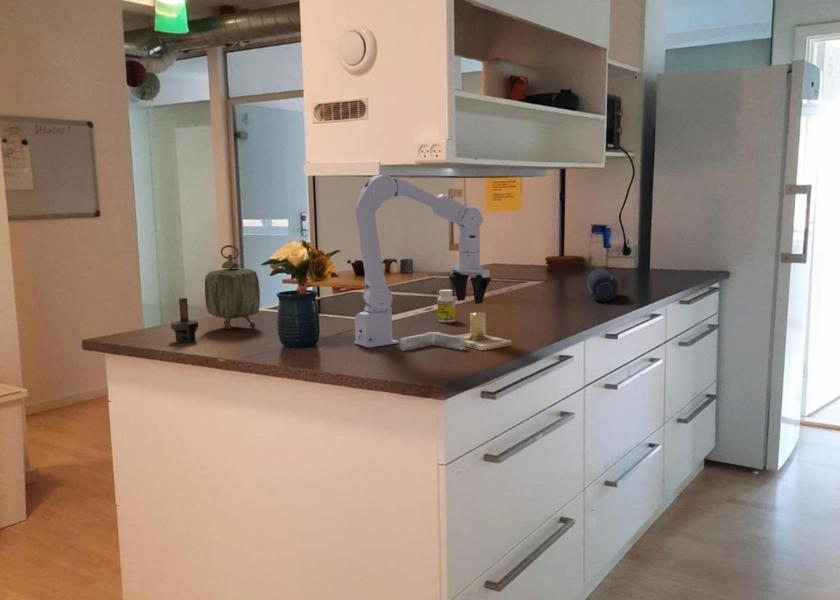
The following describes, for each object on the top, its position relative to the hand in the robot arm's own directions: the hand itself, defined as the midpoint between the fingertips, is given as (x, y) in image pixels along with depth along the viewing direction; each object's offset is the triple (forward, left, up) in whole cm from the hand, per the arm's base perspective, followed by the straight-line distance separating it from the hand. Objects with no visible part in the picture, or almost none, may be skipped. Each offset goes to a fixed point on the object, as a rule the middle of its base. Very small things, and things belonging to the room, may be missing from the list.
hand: (469, 301), depth 211 cm
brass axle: (-4, -8, -10) cm, 13 cm away
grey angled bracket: (-15, -4, -10) cm, 19 cm away
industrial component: (-64, +47, -10) cm, 80 cm away
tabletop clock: (-46, +57, -10) cm, 74 cm away
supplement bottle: (+10, +25, -10) cm, 29 cm away
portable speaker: (+82, +28, -10) cm, 87 cm away
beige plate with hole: (-4, -8, -10) cm, 13 cm away
